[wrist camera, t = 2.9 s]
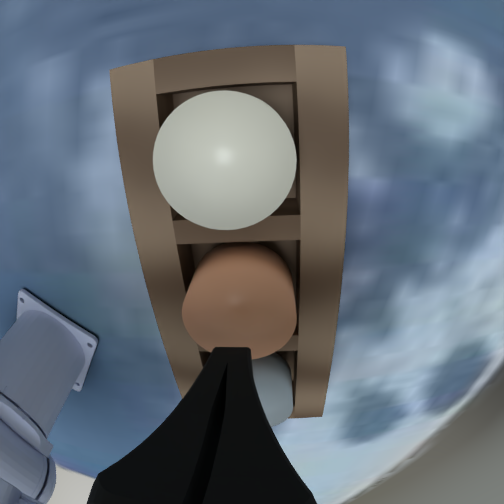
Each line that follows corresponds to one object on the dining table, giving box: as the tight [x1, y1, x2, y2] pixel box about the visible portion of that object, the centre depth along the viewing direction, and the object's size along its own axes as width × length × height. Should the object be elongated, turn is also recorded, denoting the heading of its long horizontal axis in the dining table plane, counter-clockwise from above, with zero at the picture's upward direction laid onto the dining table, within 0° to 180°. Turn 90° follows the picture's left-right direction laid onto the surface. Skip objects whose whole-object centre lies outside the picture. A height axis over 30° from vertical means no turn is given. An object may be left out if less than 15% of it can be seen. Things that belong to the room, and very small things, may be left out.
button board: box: [110, 45, 349, 418], centre depth 17 cm, size 23×10×3 cm, turn 4°
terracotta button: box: [182, 242, 297, 359], centre depth 15 cm, size 5×5×3 cm
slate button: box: [252, 352, 293, 427], centre depth 19 cm, size 5×5×3 cm
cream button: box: [153, 90, 297, 230], centre depth 12 cm, size 5×5×3 cm
